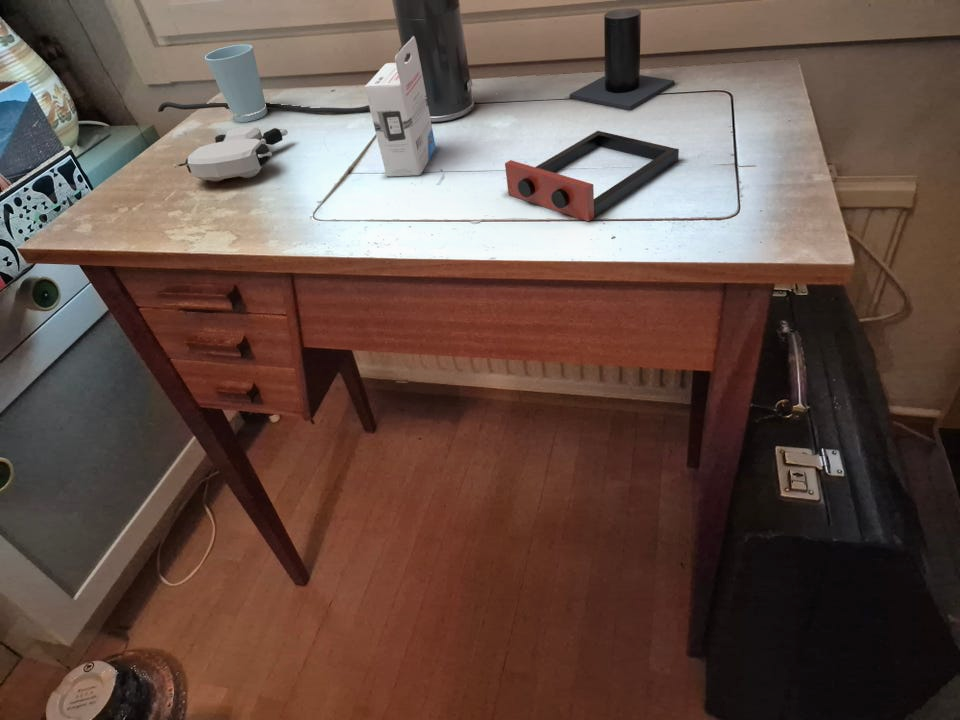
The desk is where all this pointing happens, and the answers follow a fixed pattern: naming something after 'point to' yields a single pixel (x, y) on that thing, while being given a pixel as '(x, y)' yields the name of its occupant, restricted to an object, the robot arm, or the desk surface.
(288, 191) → the desk surface
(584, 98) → the mat
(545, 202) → the stove
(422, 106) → the ink box
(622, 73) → the can
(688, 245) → the desk surface
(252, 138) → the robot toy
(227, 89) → the cup
